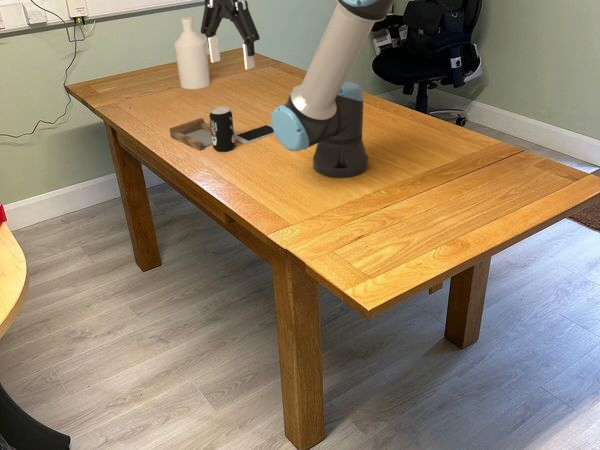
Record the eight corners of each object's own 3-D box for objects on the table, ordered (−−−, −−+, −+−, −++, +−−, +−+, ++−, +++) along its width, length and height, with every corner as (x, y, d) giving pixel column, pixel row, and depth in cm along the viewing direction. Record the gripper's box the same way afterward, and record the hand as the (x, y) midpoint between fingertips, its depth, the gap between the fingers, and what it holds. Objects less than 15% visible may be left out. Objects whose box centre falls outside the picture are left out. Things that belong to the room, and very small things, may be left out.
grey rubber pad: (225, 139, 180) (225, 138, 180) (203, 148, 175) (202, 146, 175) (202, 130, 188) (202, 129, 187) (180, 137, 183) (180, 136, 182)
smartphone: (230, 139, 181) (230, 136, 181) (269, 126, 190) (269, 123, 189) (244, 145, 177) (243, 142, 176) (283, 131, 185) (283, 129, 185)
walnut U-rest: (231, 138, 180) (231, 129, 179) (200, 150, 173) (198, 141, 172) (202, 126, 190) (201, 117, 189) (171, 137, 183) (169, 128, 182)
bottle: (208, 88, 224) (200, 21, 212) (177, 89, 225) (167, 22, 212) (212, 79, 235) (205, 14, 222) (183, 80, 235) (174, 15, 222)
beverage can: (231, 153, 171) (227, 114, 165) (210, 152, 172) (205, 113, 166) (238, 144, 177) (234, 106, 170) (217, 143, 178) (213, 105, 172)
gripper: (269, -21, 140) (275, 67, 151) (202, -25, 155) (212, 55, 166) (246, -17, 136) (254, 74, 146) (179, -22, 151) (191, 61, 161)
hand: (232, 64), depth 156 cm, fingers open, 13 cm apart
